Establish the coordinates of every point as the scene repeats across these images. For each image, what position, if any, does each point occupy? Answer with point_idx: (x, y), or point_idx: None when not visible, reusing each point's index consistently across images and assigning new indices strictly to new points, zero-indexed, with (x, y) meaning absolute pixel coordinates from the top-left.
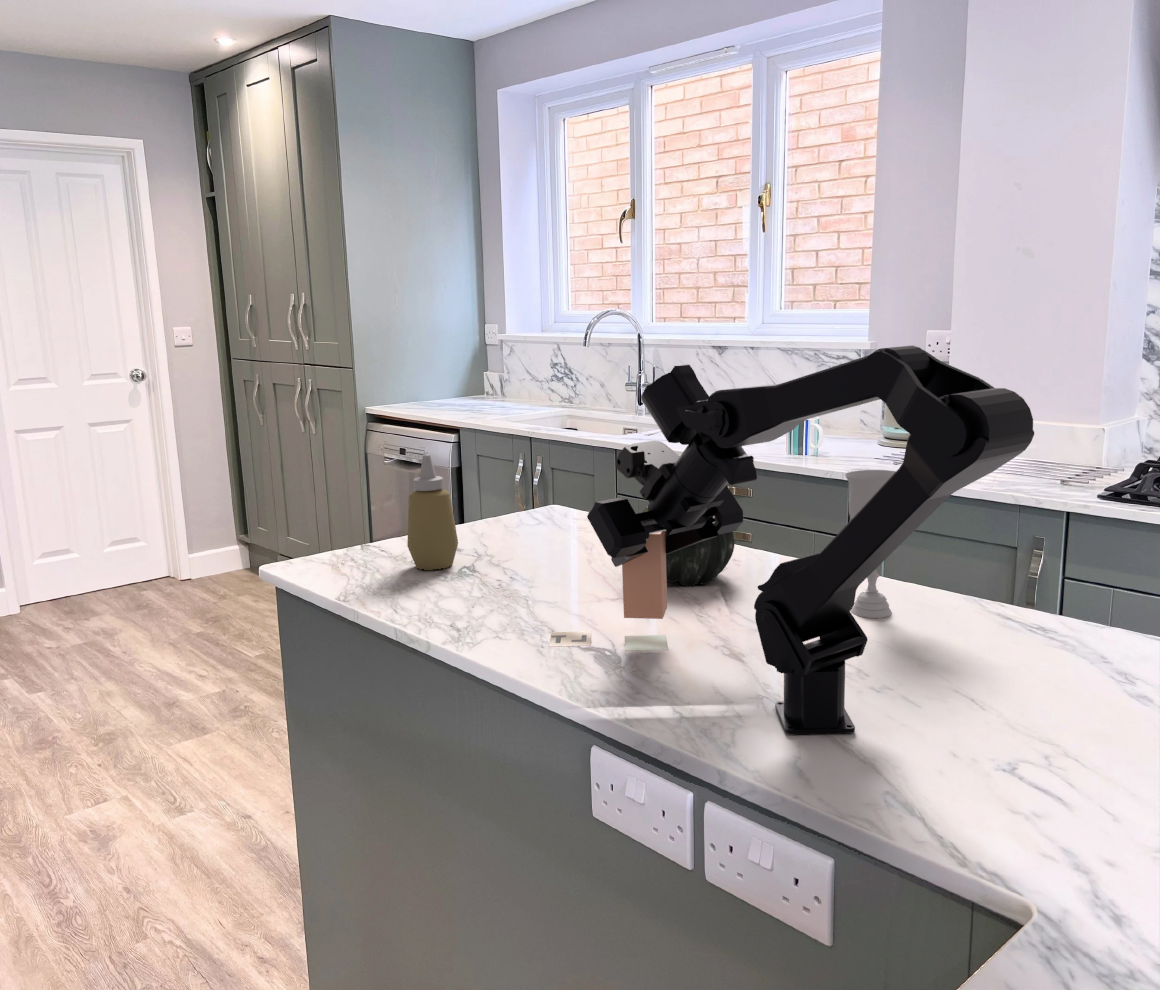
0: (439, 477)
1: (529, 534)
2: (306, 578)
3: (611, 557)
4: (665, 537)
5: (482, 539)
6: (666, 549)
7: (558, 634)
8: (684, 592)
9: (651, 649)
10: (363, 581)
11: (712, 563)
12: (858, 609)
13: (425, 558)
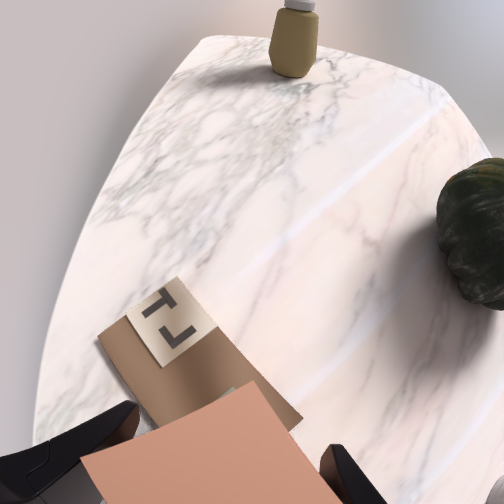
0: (310, 1)
1: (401, 88)
2: (203, 49)
3: (118, 404)
4: (342, 501)
5: (363, 71)
6: None
7: (173, 291)
8: (448, 297)
9: None
10: (221, 63)
11: (498, 303)
12: (494, 495)
13: (274, 62)
